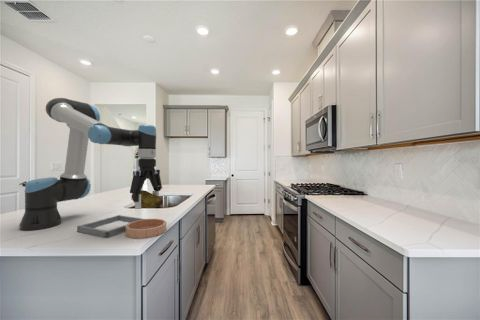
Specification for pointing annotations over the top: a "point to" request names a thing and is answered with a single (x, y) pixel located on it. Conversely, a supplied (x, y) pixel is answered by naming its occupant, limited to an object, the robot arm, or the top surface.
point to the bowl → (145, 228)
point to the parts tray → (91, 229)
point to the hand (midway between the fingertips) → (147, 206)
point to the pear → (149, 199)
